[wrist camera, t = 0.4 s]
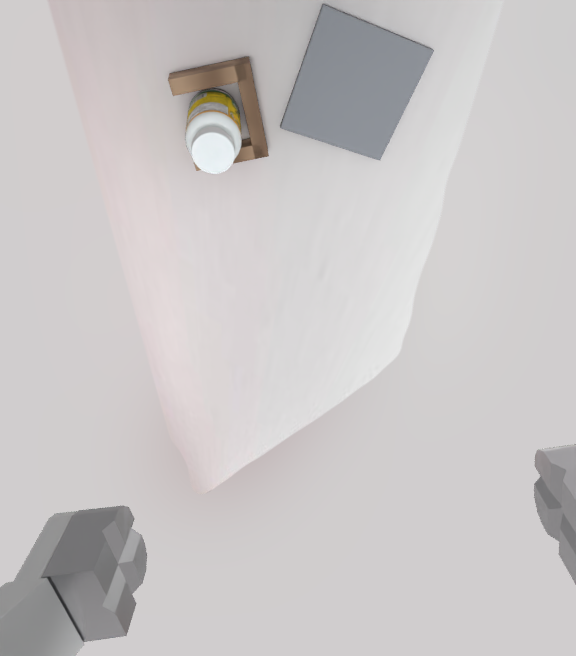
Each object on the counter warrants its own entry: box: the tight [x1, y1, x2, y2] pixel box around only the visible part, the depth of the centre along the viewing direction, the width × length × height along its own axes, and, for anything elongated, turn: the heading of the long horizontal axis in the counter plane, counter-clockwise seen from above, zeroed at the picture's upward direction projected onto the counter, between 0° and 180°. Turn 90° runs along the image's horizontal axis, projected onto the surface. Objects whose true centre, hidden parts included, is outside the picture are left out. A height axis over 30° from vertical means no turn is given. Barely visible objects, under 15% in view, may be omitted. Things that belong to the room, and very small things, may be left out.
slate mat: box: [280, 4, 434, 160], centre depth 54 cm, size 12×12×1 cm
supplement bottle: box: [185, 89, 242, 174], centre depth 51 cm, size 5×5×10 cm
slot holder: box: [168, 57, 269, 171], centre depth 54 cm, size 8×10×2 cm
